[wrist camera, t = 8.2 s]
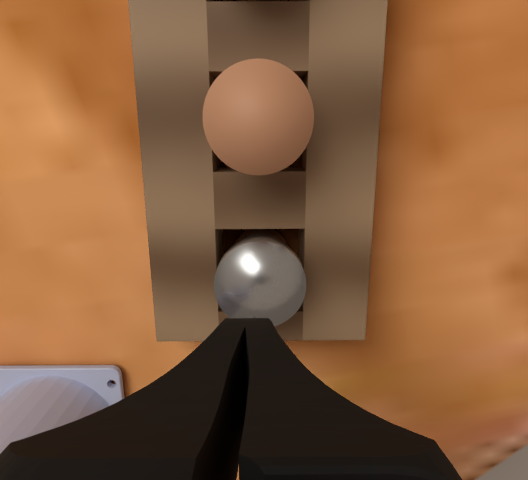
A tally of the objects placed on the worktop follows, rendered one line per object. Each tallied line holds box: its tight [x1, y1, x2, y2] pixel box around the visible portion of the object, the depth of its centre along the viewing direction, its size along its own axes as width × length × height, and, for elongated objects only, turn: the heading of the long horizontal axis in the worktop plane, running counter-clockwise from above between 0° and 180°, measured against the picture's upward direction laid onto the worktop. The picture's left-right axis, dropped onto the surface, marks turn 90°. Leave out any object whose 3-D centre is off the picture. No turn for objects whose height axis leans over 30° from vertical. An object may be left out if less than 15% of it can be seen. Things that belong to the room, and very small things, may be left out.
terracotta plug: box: [203, 58, 314, 175], centre depth 15 cm, size 4×4×4 cm
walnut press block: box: [128, 0, 388, 341], centre depth 17 cm, size 20×10×3 cm, turn 0°
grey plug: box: [214, 229, 306, 326], centre depth 18 cm, size 4×4×4 cm
